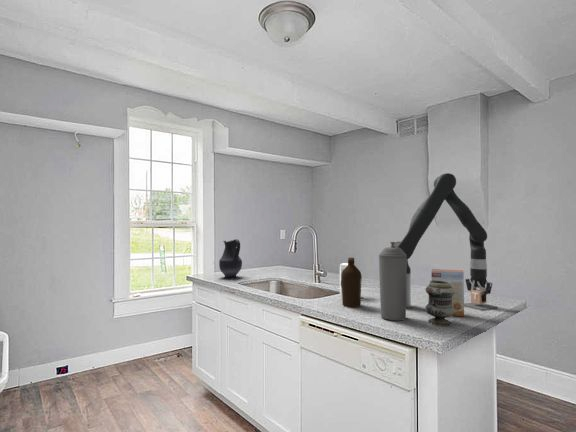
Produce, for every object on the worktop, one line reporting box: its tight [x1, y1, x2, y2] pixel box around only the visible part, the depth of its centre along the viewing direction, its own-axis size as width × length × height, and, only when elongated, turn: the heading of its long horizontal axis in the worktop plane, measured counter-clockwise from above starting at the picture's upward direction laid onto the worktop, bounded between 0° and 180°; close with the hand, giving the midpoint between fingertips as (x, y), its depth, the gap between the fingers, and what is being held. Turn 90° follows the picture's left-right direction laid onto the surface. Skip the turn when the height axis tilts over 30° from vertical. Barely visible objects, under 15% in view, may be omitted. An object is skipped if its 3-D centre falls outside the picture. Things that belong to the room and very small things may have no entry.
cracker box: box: [431, 268, 465, 318], centre depth 172 cm, size 14×6×21 cm, turn 65°
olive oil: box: [341, 257, 363, 308], centre depth 190 cm, size 11×11×25 cm
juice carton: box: [339, 262, 357, 297], centre depth 212 cm, size 8×9×19 cm
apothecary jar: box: [424, 279, 455, 327], centre depth 158 cm, size 12×12×18 cm
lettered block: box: [470, 288, 488, 304], centre depth 185 cm, size 5×5×6 cm
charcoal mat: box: [464, 301, 498, 312], centre depth 185 cm, size 12×12×1 cm
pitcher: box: [218, 238, 243, 280], centre depth 278 cm, size 17×21×30 cm
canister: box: [378, 241, 407, 321], centre depth 166 cm, size 13×13×35 cm
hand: (478, 300), depth 185 cm, fingers closed on lettered block, 5 cm apart
